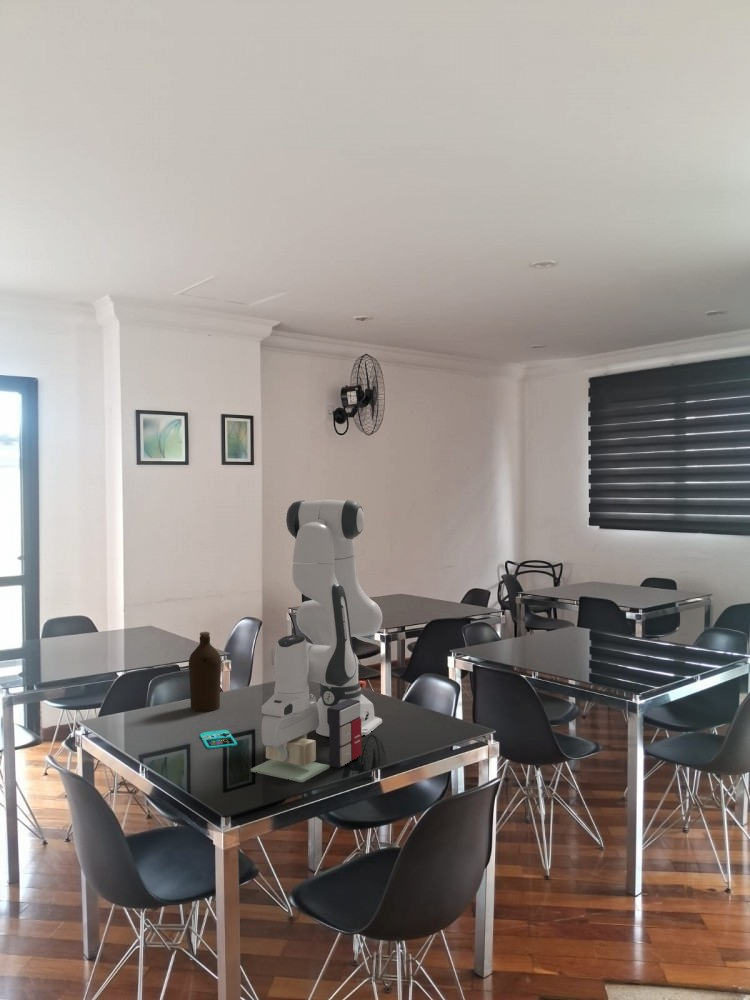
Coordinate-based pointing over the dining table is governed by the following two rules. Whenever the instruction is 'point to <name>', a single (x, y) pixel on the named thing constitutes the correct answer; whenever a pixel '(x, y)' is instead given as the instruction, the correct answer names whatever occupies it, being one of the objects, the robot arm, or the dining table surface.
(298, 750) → the birch block
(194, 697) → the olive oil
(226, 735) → the handheld gaming console
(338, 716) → the dark grey box
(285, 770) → the rubber mat
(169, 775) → the dining table surface
